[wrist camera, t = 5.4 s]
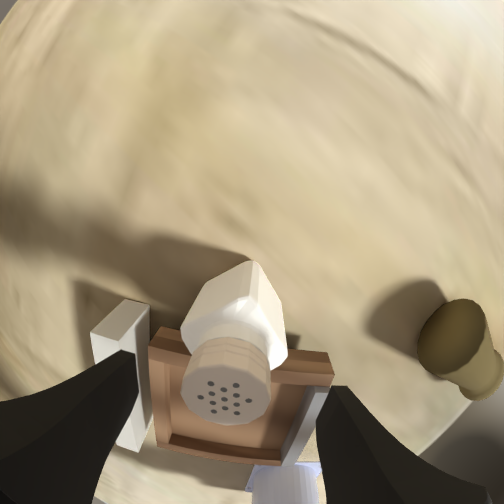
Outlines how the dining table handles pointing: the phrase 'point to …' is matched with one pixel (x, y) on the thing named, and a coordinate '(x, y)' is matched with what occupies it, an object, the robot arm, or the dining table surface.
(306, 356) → the brown wooden square tray
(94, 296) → the dining table surface
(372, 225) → the dining table surface
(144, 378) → the block
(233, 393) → the pepper shaker
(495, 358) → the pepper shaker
